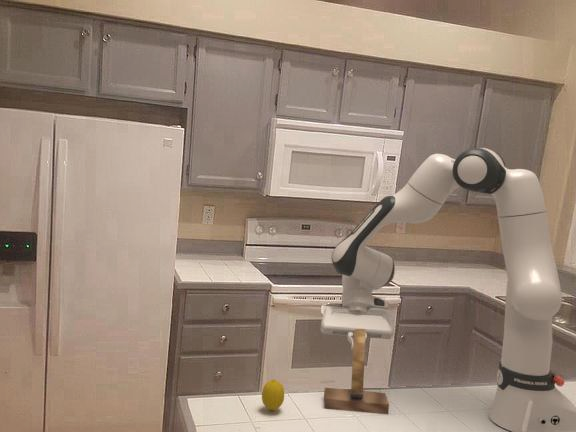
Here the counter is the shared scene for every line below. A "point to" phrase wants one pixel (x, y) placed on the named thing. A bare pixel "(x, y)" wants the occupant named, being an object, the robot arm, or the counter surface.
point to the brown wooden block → (355, 401)
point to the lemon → (273, 394)
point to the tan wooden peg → (358, 363)
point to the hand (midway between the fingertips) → (357, 349)
